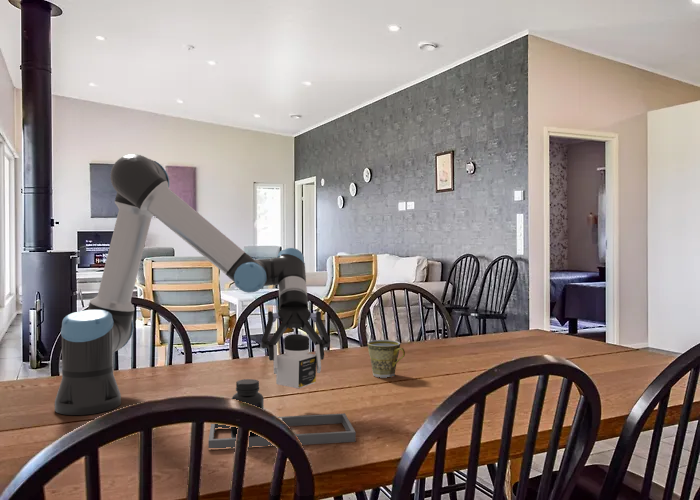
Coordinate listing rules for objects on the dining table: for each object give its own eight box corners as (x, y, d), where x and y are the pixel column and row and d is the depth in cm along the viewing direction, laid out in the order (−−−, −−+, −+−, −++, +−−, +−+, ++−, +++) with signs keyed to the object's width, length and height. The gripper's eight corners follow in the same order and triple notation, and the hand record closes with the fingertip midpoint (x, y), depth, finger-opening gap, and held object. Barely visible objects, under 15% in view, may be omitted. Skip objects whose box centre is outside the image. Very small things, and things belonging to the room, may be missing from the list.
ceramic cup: (360, 375, 182) (360, 343, 181) (381, 370, 189) (381, 338, 189) (393, 383, 173) (394, 348, 172) (414, 376, 180) (414, 344, 180)
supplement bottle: (256, 444, 123) (256, 386, 123) (225, 441, 124) (225, 384, 124) (268, 433, 130) (267, 378, 129) (238, 430, 131) (238, 376, 131)
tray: (208, 450, 119) (208, 440, 119) (211, 429, 132) (211, 420, 132) (355, 441, 125) (355, 432, 125) (344, 421, 138) (344, 413, 137)
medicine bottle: (298, 389, 142) (300, 339, 141) (275, 384, 145) (276, 335, 145) (316, 382, 148) (317, 334, 147) (293, 378, 152) (294, 331, 151)
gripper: (333, 306, 163) (341, 377, 148) (250, 306, 159) (250, 379, 144) (336, 288, 158) (345, 361, 143) (250, 288, 154) (250, 362, 139)
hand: (297, 370), depth 143 cm, fingers closed on medicine bottle, 10 cm apart
